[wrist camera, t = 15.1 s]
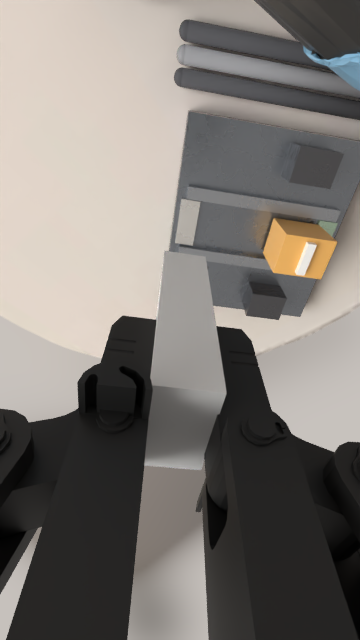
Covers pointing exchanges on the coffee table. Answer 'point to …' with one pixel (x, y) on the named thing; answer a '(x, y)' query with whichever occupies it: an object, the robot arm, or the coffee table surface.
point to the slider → (298, 248)
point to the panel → (257, 204)
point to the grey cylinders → (260, 70)
